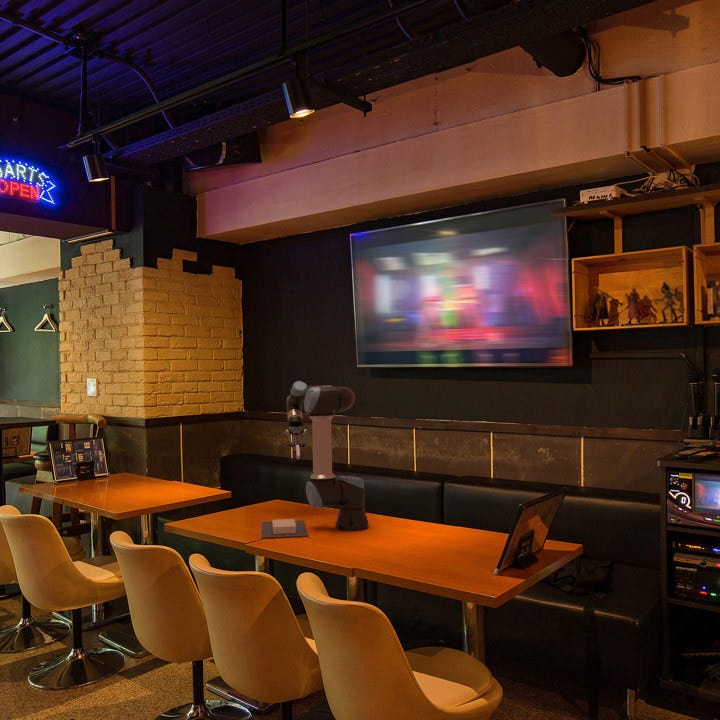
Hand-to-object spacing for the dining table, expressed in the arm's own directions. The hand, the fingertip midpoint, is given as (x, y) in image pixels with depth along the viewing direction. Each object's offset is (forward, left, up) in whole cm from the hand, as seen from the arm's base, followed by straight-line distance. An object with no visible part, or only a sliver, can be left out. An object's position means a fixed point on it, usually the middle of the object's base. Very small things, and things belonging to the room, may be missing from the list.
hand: (298, 457), depth 329 cm
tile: (-11, +16, -27) cm, 33 cm away
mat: (-14, +17, -30) cm, 37 cm away
